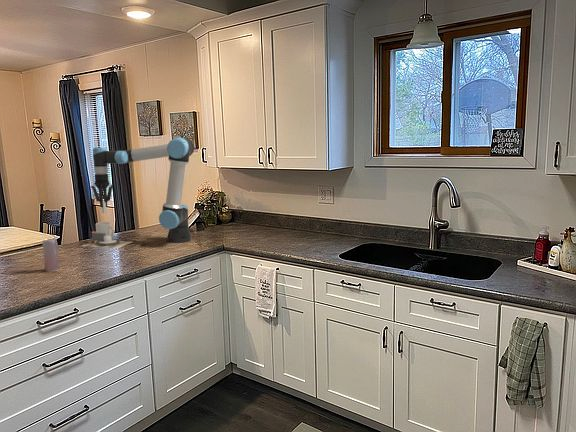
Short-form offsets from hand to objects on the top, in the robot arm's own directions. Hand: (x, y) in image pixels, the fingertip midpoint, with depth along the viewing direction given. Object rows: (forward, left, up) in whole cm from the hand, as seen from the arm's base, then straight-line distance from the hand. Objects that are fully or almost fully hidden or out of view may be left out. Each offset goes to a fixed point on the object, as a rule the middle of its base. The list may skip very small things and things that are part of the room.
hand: (104, 212), depth 265 cm
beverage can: (-8, +57, -19) cm, 61 cm away
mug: (+7, -11, -19) cm, 24 cm away
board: (-5, +5, -19) cm, 21 cm away
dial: (-2, +5, -18) cm, 19 cm away
